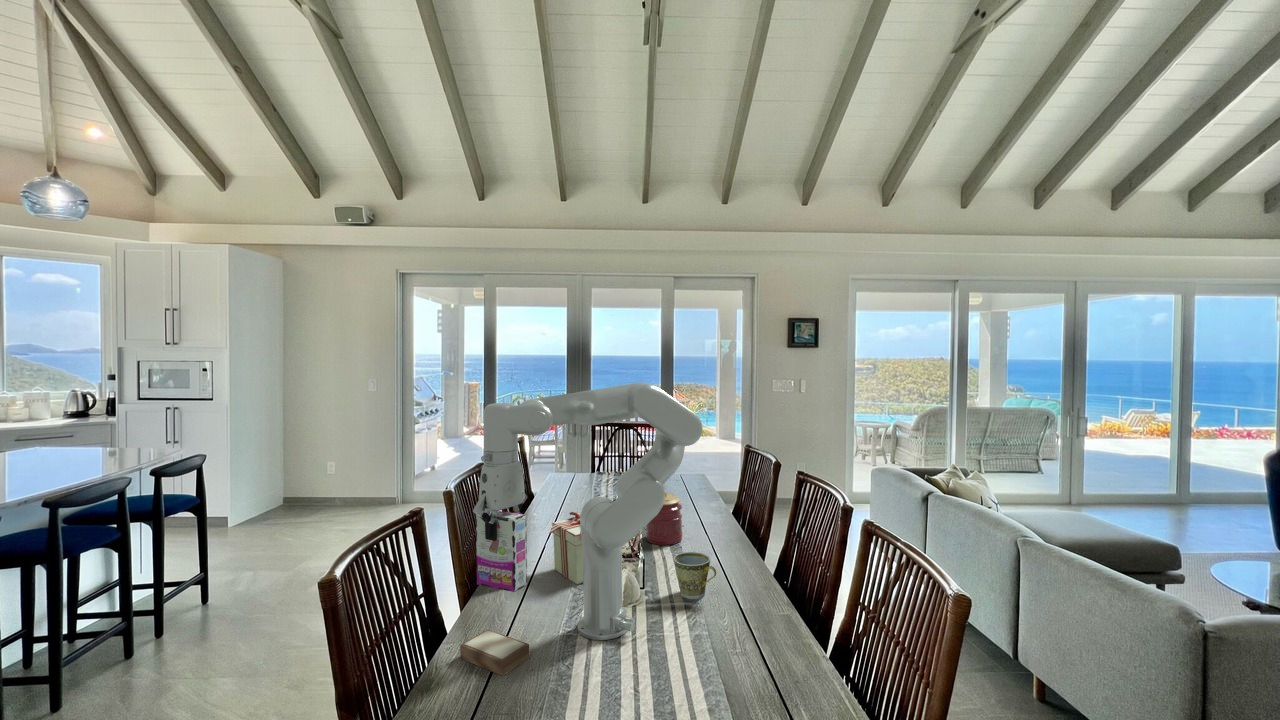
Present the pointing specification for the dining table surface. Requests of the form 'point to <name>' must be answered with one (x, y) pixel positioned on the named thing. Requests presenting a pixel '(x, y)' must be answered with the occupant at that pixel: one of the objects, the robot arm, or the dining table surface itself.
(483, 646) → the walnut plinth
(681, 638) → the dining table surface
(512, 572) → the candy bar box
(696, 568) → the ceramic cup
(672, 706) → the dining table surface
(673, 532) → the canister
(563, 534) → the gift box
